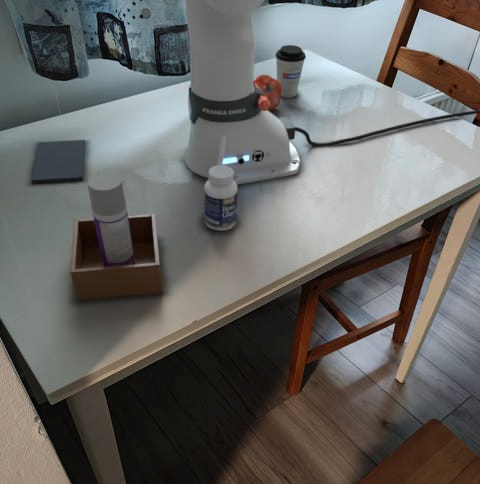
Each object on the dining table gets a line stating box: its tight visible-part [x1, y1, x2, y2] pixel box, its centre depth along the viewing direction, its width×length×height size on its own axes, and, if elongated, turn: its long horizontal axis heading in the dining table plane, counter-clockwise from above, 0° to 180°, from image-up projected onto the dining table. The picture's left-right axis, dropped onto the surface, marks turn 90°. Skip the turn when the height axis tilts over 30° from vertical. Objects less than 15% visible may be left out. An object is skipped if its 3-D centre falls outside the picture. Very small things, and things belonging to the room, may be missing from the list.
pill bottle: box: [203, 165, 238, 232], centre depth 86 cm, size 5×5×10 cm
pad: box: [31, 139, 86, 184], centre depth 101 cm, size 9×14×1 cm, turn 10°
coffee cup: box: [275, 44, 307, 98], centre depth 122 cm, size 7×7×10 cm
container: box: [87, 171, 135, 267], centre depth 75 cm, size 5×5×15 cm
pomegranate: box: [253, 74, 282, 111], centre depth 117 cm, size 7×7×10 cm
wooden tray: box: [69, 213, 164, 301], centre depth 78 cm, size 12×12×5 cm
